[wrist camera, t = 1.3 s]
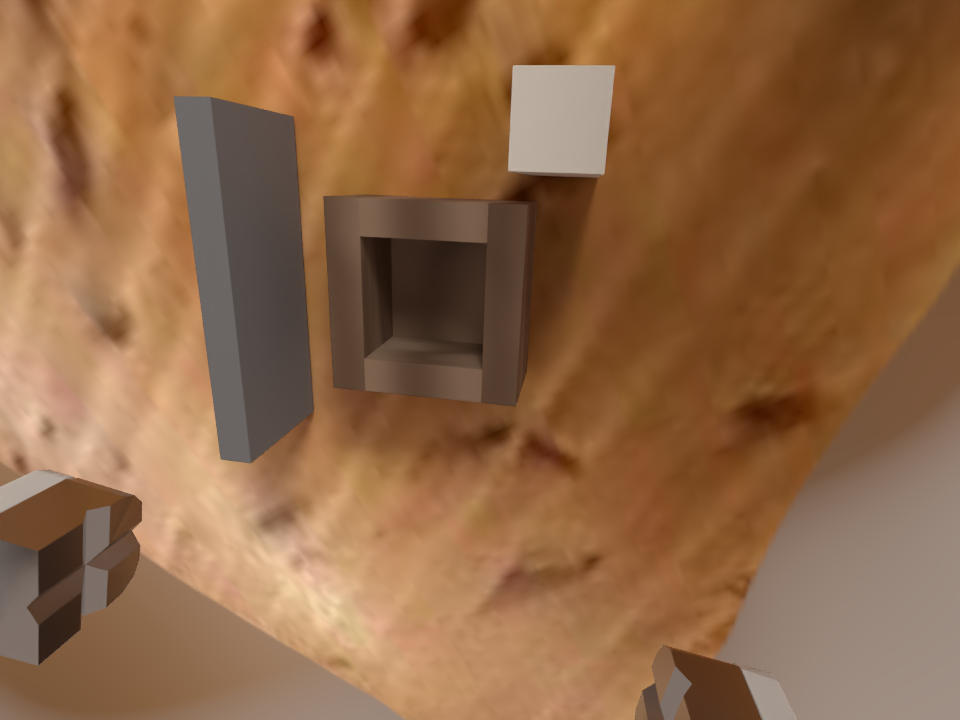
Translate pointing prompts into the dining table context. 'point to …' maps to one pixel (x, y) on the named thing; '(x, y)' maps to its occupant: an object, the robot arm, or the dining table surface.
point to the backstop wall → (248, 269)
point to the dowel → (560, 119)
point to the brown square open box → (430, 295)
